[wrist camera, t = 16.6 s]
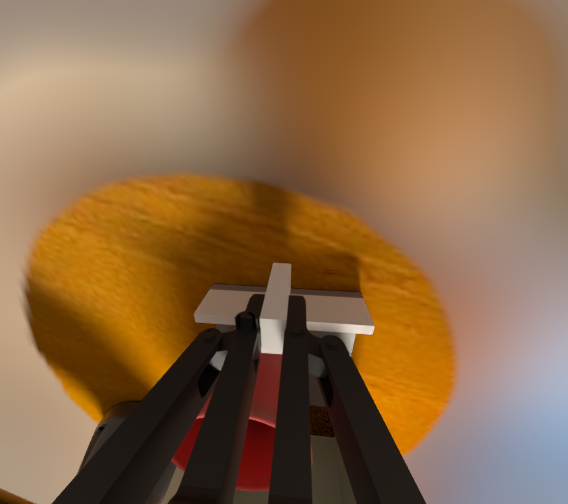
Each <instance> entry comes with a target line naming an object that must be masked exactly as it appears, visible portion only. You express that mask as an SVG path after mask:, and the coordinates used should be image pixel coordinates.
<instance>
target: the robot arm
mask: <svg viewBox="0 0 568 504" xmlns="http://www.w3.org/2000/svg"><path fill="white" fill-rule="evenodd" d="M290 291H291V264H288V263H273V266H272V270H271V274H270V278H269V282H268V286H267V290H266V294H253V295H252V296H251V297H250V299H249V302H248V304H247V308H246V310H245V311H242V312H240V313H238V314H237V315H236V316H235V325H236V329H235V330H233V331H230V332H225V333H221V332H220V330H218V329H216V328H210V329H206V330H204V331H202V332H201V333H200V334H199V335H198V336H197V337H196V339H195V340H194V341H193V342H192V343H191V344H190V346H189V347H188V348H187V349H186V350H185V351H184V352H183V354H182V355H181V356H180V357H179V358H178V359H177V360H176V362H175V363H174V364H173V365H172V366H171V367H170V368H169V370H168V371H167V372H166V373H165V374H164V375H163V377H162V378H161V379H160V380H159V381H158V382H157V383H156V385H155V386H154V387H153V388H152V389H151V390H150V391H149V393H148V394H147V395H146V396H145V397H144V398H143V399H142V401H141V402H124V403H120V404H117V405H115V406H113V407H111V408H110V409H109V410H108V412H107V413H106V415H105V416H104V417H103V419H102V420H101V421H100V423H99V424H98V426H97V428H96V430H95V432H94V435H93V437H92V439H91V442H90V444H89V446H88V449H87V451H86V453H85V456H84V458H83V461H82V463H81V465H80V468H79V470H78V472H77V475H76V476H75V478H74V479H73V480H72V481H71V482H70V483H69V485H68V486H67V487H66V488H65V489H64V490H63V491H62V492H61V494H60V495H59V496H58V497H57V498H56V499H55V501H54V502H53V503H52V504H162V502H163V500H164V497H165V495H166V492H167V490H168V487H169V485H170V482H171V480H172V477H173V474H174V472H175V469H176V467H177V466H176V465H175V464H174V463H173V462H172V461H171V459H172V458H173V456H174V454H175V453H176V451H177V449H178V448H179V446H180V444H181V443H182V441H183V440H184V438H185V436H186V435H187V433H188V431H189V430H190V428H191V426H192V425H193V423H194V422H195V420H196V418H197V417H198V415H199V413H200V412H201V410H202V408H203V407H204V405H205V403H206V402H207V400H208V399H209V397H210V395H211V394H212V392H213V394H212V396H211V399H210V402H209V405H208V408H207V410H206V413H205V416H204V419H203V422H202V424H201V427H200V430H199V433H198V435H197V438H196V441H195V444H194V447H193V449H192V452H191V455H190V458H189V461H188V463H187V466H186V469H185V472H184V474H183V477H182V480H181V483H180V486H179V488H178V490H177V492H176V494H175V495H174V496H173V497H172V498H171V499H170V500H169V502H168V504H233V499H234V494H235V489H236V484H237V479H238V473H239V468H240V463H241V458H242V452H243V447H244V442H245V437H246V432H247V426H248V421H249V416H250V411H251V405H252V400H253V395H254V390H255V385H256V379H257V374H258V369H259V364H260V351H261V353H271V354H282V363H281V374H280V384H279V395H278V405H277V415H276V426H275V436H274V447H273V457H272V468H271V478H270V488H269V498H268V504H313V503H312V470H311V435H310V401H309V373H310V374H312V375H314V376H317V380H318V383H319V386H320V389H321V393H322V396H323V399H324V402H325V405H326V408H327V412H328V415H329V418H330V421H331V424H332V427H333V431H334V434H335V437H336V440H337V443H338V446H339V449H340V453H341V456H342V459H343V462H344V465H345V468H346V472H347V475H348V478H349V481H350V484H351V487H352V491H353V494H354V497H355V500H356V503H357V504H426V503H425V501H424V498H423V496H422V495H421V493H420V491H419V489H418V487H417V485H416V483H415V481H414V479H413V477H412V475H411V473H410V471H409V469H408V467H407V465H406V463H405V461H404V459H403V457H402V455H401V453H400V452H399V450H398V448H397V446H396V444H395V442H394V440H393V438H392V436H391V434H390V432H389V430H388V428H387V426H386V424H385V422H384V420H383V418H382V416H381V414H380V412H379V410H378V409H377V407H376V405H375V403H374V401H373V399H372V397H371V395H370V393H369V391H368V389H367V387H366V385H365V383H364V381H363V379H362V377H361V375H360V373H359V371H358V369H357V368H356V366H355V364H354V362H353V360H352V358H351V356H350V354H349V352H348V350H347V348H346V346H345V344H344V342H343V341H342V340H341V339H340V338H339V337H337V336H334V335H326V336H324V337H322V338H319V337H316V336H314V335H312V334H311V333H310V332H309V331H308V329H307V321H306V300H305V298H304V297H303V296H299V295H290ZM213 390H214V391H213ZM0 504H36V503H33V502H31V501H29V500H26V499H24V498H22V497H19V496H17V495H15V494H12V493H10V492H7V491H5V490H3V489H0Z"/></svg>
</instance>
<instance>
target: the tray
mask: <svg viewBox="0 0 568 504" xmlns="http://www.w3.org/2000/svg"><path fill="white" fill-rule="evenodd" d="M266 290H267V287H258V286H240V285H223V284H213V285H212V287H211V288H210V290H209V291H208V293H207V294H206V296H205V297H204V299H203V300H202V302H201V303H200V305H199V307H198V308H197V310H196V311H195V313H194V318H195V322H197V323H212V324H215V325H216V329H218V330H220V332H221V333H225V332H230V331H231V330H232V329H234V328H235V327H236V325H235V316H236V315H237V314H238V313H240V312H242V311H245V310H246V308H247V304H248V302H249V299H250V297H251V296H252V295H253V294H266ZM290 295H299V296H303V297H304V298H305V300H306V321H307V329H308V331H309V332H310V333H311V334H312V335H314V336H316V337H319V338H322V337H324V336H326V335H334V336H337V337H339V338H340V339H341V340H342V341H343V342H344V344H345V346H346V348H347V350H348V352H349V354H350V356H351V354H352V349H353V344H354V340H355V335H356V333H357V334H371V335H372V334H373V331H374V327H375V326H374V323H373V321H372V318H371V316H370V313H369V311H368V308H367V306H366V303H365V301H364V298H363V296H362V293H361V292H344V291H327V290H310V289H292V288H291V291H290ZM309 401H310V406H320V407H326V405H325V402H324V399H323V396H322V393H321V389H320V386H319V383H318V380H317V376H314V375H312V374H310V373H309Z"/></svg>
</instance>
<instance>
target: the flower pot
mask: <svg viewBox="0 0 568 504" xmlns="http://www.w3.org/2000/svg"><path fill="white" fill-rule="evenodd" d="M235 329H236V327H235V328H234V329H232V330H231V331H233V330H235ZM281 363H282V354H271V353H261V351H260V364H259V369H258V374H257V379H256V385H255V390H254V395H253V400H252V405H251V411H250V416H249V421H248V426H247V432H246V437H245V442H244V447H243V452H242V458H241V463H240V468H239V473H238V479H237V484H236V489H235V490H241V491H269V488H270V478H271V468H272V457H273V447H274V436H275V426H276V415H277V405H278V395H279V384H280V374H281ZM213 391H214V390H213ZM212 394H213V392H212ZM212 394H211V395H210V397H209V399H208V400H207V402H206V403H205V405H204V407H203V408H202V410H201V412H200V413H199V415H198V417H197V418H196V420H195V422H194V423H193V425H192V426H191V428H190V430H189V431H188V433H187V435H186V436H185V438H184V440H183V441H182V443H181V444H180V446H179V448H178V449H177V451H176V453H175V454H174V456H173V458H172V459H171V461H172V462H173V463H174V464H175V465H176V466H177V467H178V468H179V469H181V470H182V471H183V472H185V469H186V466H187V463H188V461H189V458H190V455H191V452H192V449H193V447H194V444H195V441H196V438H197V435H198V433H199V430H200V427H201V424H202V422H203V419H204V416H205V413H206V410H207V408H208V405H209V402H210V399H211V396H212ZM312 462H313V455H312V446H311V467H312Z"/></svg>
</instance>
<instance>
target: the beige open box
mask: <svg viewBox="0 0 568 504" xmlns="http://www.w3.org/2000/svg"><path fill="white" fill-rule="evenodd" d="M311 446H312V455H313V462H312V467H311V470H312V503H313V504H357V503H356V500H355V497H354V494H353V491H352V487H351V484H350V481H349V478H348V475H347V472H346V468H345V465H344V462H343V459H342V456H341V453H340V449H339V446H338V443H337V440H336V437H325V436H315V435H311ZM183 474H184V472H183V471H182V470H181V469H179V468H178V467H176V469H175V472H174V474H173V477H172V480H171V482H170V485H169V487H168V490H167V492H166V495H165V497H164V500H163V502H162V504H168V502H169V500H170V499H171V498H172V497H173V496H174V495H175V494H176V492H177V490H178V488H179V486H180V483H181V480H182V477H183ZM268 498H269V491H241V490H235V494H234V499H233V504H268Z"/></svg>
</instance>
